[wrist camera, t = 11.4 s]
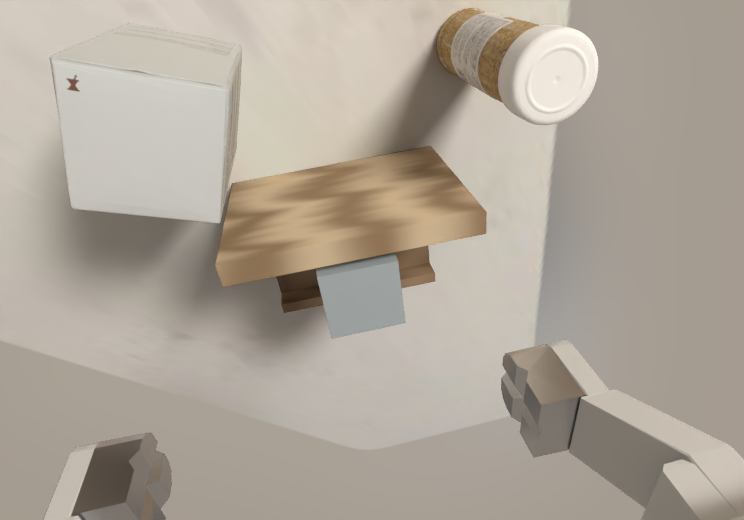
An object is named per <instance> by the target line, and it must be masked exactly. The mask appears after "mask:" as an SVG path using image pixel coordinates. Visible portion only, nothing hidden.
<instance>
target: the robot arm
mask: <svg viewBox="0 0 744 520" xmlns="http://www.w3.org/2000/svg"><path fill="white" fill-rule="evenodd" d="M503 367H504V369H505V370H506V373H505V375H504V376H503V377H502V378H501V390H502V395H503V399H504V402H505V405H506V407H507V409H508V411H509V413H510V415H511V417H513V418H514V419H516V420H517V421H519V422H521V429H520V434H521V435H522V437H523V439H524V441H525V443H526V445H527V446H528V448H529V450H530V452H531V453H532V455H533V457H538V456H542V455H547V454H552V453H557V452H561V451H566V450H569V452H570V453H571V454H573V455H574V456H575V457H577V458H578V459H579V460H581V461H582V462H583V463H585V464H586V465H587V466H589V467H590V468H591V469H593V470H594V471H595V472H597V473H598V474H600V475H601V476H602V477H604V478H605V479H607V480H608V481H609V482H610V483H612V484H613V485H614V486H616V487H617V488H618V489H620V490H622V491H623V492H624V493H625V494H627V495H628V496H629V497H631V498H632V499H633V500H635V501H636V502H638V503H639V504H640V505H641V506H643V507H644V508H646V509H645V511H644V514H643V516H642V518H641V520H744V460H743V458H742V457H741V456H740V455H739V454H738V453H737V452H736V451H735V450H734V449H733V448H732V447H731V446H730V445H728V444H726V443H724V442H722V441H720V440H718V439H716V438H713V437H712V436H709V435H707V434H705V433H703V432H701V431H699V430H697V429H695V428H693V427H691V426H689V425H687V424H685V423H683V422H681V421H679V420H677V419H675V418H673V417H671V416H669V415H667V414H665V413H663V412H661V411H659V410H657V409H655V408H653V407H651V406H649V405H647V404H644V403H642V402H640V401H638V400H636V399H634V398H632V397H630V396H628V395H626V394H624V393H622V392H620V391H618V390H616V389H614V390H609V389H608V388H607V387H606V386H605V385H604V383H603V382H602V381H601V379H600V378H599V377H598V376H597V375H596V373H595V372H594V371H593V370H592V368H591V367H590V366H589V365H588V364H587V362H586V361H585V360H584V359H583V357H582V356H581V355H580V354H579V353H578V351H577V350H576V349H575V348H574V346H573V345H572V344H571V343H570V342H569V341H567V340H563V341H558V342H554V343H550V344H545V345H539V346H535V347H531V348H526V349H522V350H518V351H513V352H509V353H505V355H504V357H503ZM156 446H157V440H156V439H155V437H154V436H153V434H152V433H144V434H139V435H134V436H129V437H124V438H118V439H113V440H108V441H103V442H99V443H94V444H90V445H84V446H79V447H76V448H75V449H74V450H73V451H72V452H71V453H70V455H69V457H68V459H67V462H66V464H65V467H64V469H63V472H62V474H61V477H60V479H59V482H58V484H57V486H56V489H55V492H54V494H53V496H52V499H51V501H50V504H49V506H48V509H47V511H46V514H45V516H44V518H43V520H165V519H166V517H165V515H164V514H163V512H162V511H161V507H162V506H163V505H164V503H165V502H166V501H167V500H168V498H169V497H170V490H171V485H172V482H171V468H170V465H169V462H168V459H167V457H166V456H165V454H163V453H161V452H159V451H156Z"/></svg>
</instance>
